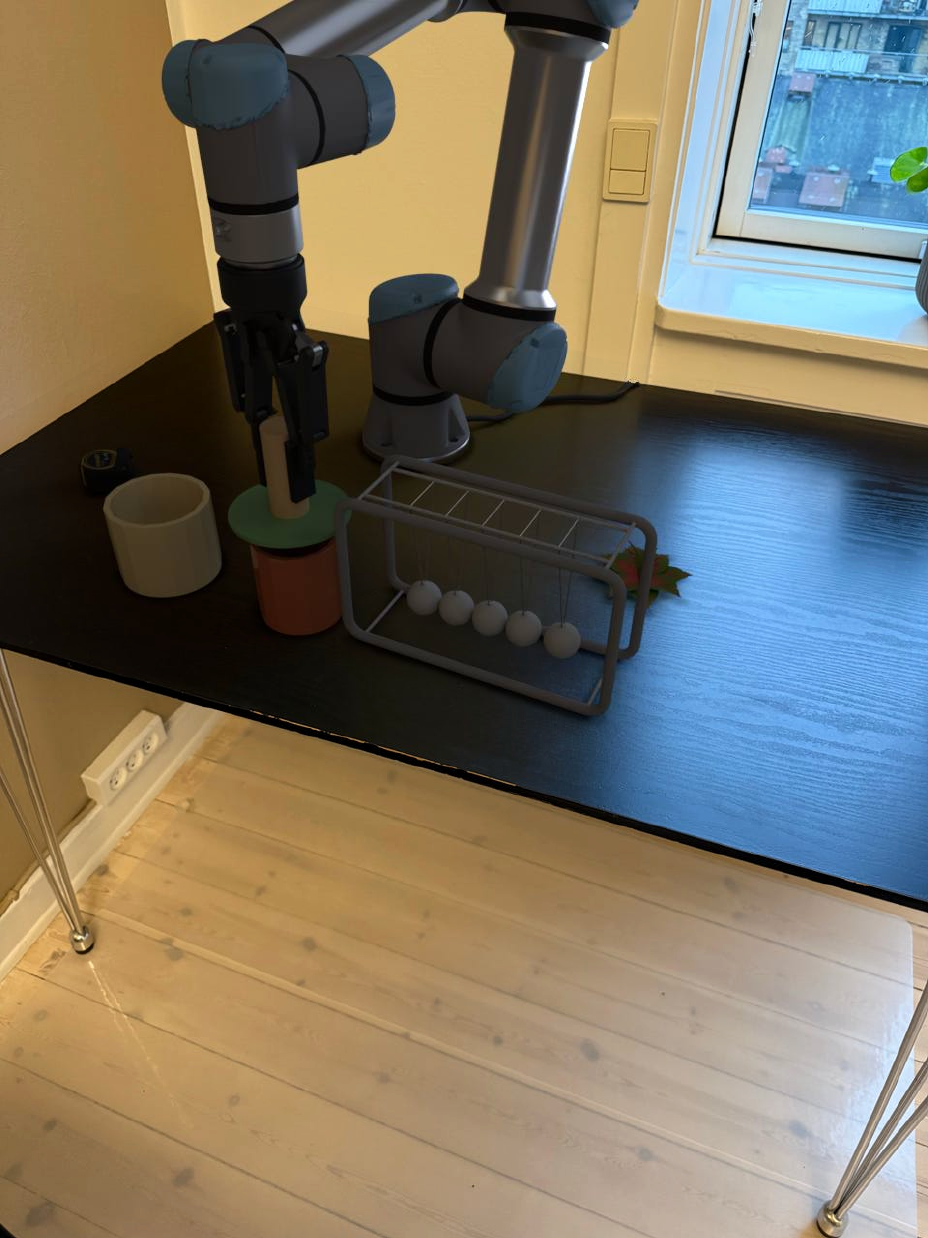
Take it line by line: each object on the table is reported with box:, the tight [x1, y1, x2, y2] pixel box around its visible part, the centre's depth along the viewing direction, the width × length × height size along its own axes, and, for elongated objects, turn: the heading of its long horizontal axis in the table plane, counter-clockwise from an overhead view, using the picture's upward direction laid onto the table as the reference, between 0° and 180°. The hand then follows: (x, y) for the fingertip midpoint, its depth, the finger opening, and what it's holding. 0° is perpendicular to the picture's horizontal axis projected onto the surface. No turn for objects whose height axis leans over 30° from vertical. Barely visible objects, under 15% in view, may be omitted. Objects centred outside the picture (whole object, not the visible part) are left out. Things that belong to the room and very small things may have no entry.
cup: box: [249, 535, 342, 636], centre depth 104 cm, size 9×9×10 cm
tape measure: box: [77, 446, 136, 493], centre depth 126 cm, size 7×7×4 cm
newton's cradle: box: [333, 455, 658, 717], centre depth 96 cm, size 30×10×18 cm, turn 64°
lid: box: [227, 415, 353, 549], centre depth 96 cm, size 13×13×11 cm
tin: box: [102, 472, 223, 599], centre depth 110 cm, size 11×11×10 cm
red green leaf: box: [599, 539, 694, 610], centre depth 110 cm, size 12×12×5 cm
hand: (288, 488), depth 97 cm, fingers closed on lid, 4 cm apart
